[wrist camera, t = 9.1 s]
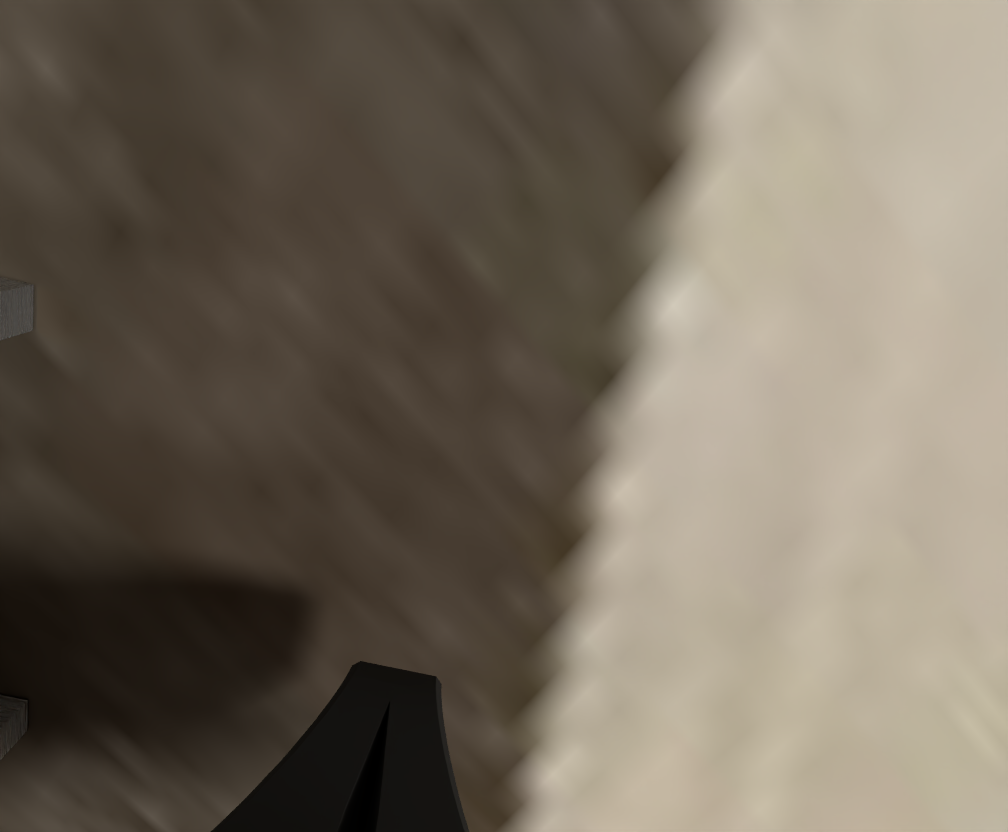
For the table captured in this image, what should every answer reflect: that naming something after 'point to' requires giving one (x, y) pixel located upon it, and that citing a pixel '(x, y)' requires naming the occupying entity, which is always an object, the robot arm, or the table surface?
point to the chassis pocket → (3, 315)
